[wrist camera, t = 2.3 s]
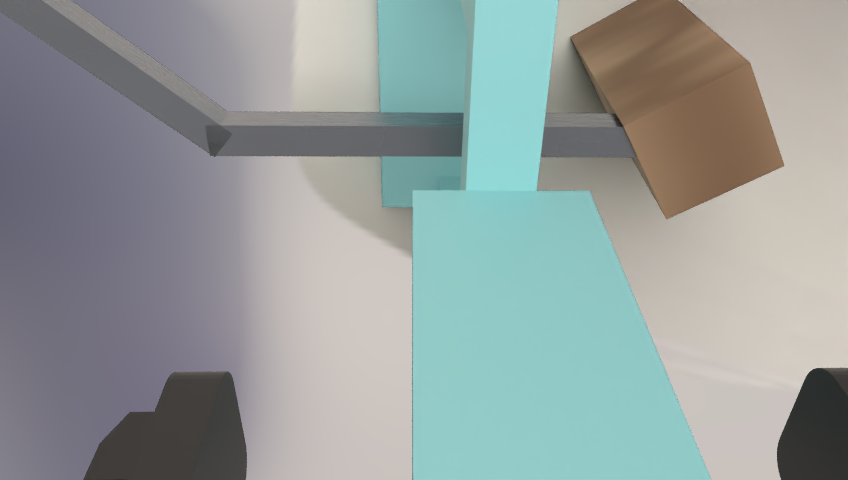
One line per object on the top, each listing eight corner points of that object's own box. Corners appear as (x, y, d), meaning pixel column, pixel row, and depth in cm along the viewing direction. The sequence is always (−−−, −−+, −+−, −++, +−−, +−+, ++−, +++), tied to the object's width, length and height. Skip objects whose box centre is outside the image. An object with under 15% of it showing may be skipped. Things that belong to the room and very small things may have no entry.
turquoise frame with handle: (556, -124, 19) (1090, 265, 4) (523, 190, 25) (700, 850, 10) (376, -127, 19) (242, 265, 4) (383, 189, 25) (338, 855, 10)
